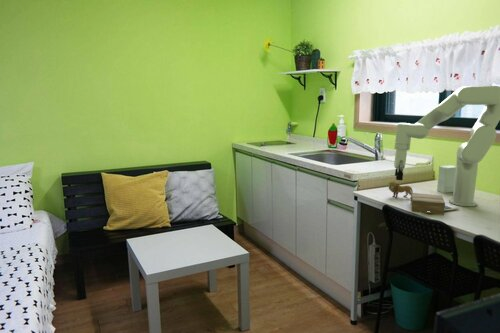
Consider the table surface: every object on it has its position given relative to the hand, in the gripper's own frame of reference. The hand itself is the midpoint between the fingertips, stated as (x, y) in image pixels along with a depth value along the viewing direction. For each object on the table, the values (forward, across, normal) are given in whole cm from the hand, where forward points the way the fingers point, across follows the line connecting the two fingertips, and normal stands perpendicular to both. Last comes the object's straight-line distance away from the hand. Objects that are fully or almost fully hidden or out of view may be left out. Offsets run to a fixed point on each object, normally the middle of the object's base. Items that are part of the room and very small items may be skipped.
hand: (398, 178), depth 208 cm
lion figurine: (+11, 0, +2) cm, 11 cm away
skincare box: (+10, -22, +28) cm, 37 cm away
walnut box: (+11, +17, +13) cm, 24 cm away
